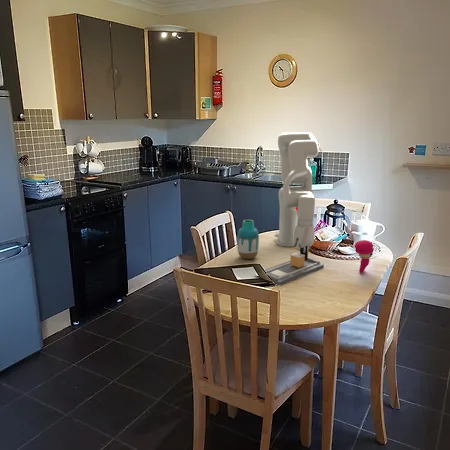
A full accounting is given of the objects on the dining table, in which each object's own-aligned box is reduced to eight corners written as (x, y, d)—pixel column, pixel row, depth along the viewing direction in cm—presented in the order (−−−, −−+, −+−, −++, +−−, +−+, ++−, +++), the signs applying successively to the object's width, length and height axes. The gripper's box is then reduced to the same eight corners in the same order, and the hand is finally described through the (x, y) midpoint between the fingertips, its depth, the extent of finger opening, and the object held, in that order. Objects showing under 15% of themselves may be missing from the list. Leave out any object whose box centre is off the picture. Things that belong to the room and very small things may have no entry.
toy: (372, 276, 191) (375, 244, 187) (353, 274, 193) (355, 243, 189) (370, 269, 199) (373, 238, 195) (351, 268, 201) (354, 237, 197)
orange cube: (295, 262, 203) (296, 252, 201) (304, 265, 199) (304, 255, 197) (290, 264, 200) (290, 254, 199) (298, 267, 196) (299, 257, 195)
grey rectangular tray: (300, 259, 212) (300, 254, 211) (323, 267, 202) (323, 262, 201) (255, 276, 192) (255, 270, 192) (278, 285, 182) (278, 279, 181)
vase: (235, 261, 211) (235, 223, 205) (239, 253, 221) (239, 217, 215) (257, 262, 209) (257, 224, 203) (259, 254, 219) (260, 218, 213)
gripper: (309, 217, 204) (307, 253, 209) (288, 223, 195) (287, 261, 200) (322, 220, 199) (319, 257, 204) (301, 226, 189) (299, 265, 194)
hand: (303, 259), depth 202 cm, fingers closed
